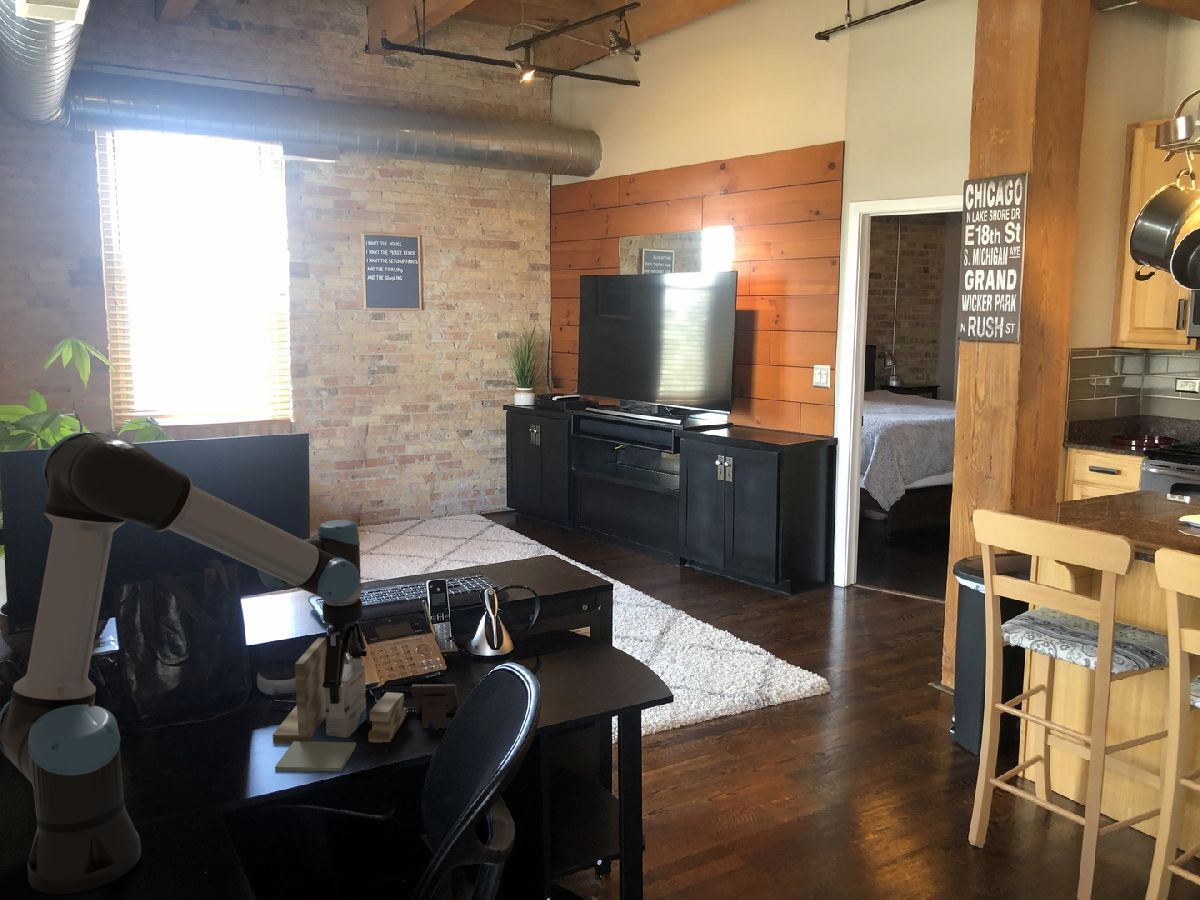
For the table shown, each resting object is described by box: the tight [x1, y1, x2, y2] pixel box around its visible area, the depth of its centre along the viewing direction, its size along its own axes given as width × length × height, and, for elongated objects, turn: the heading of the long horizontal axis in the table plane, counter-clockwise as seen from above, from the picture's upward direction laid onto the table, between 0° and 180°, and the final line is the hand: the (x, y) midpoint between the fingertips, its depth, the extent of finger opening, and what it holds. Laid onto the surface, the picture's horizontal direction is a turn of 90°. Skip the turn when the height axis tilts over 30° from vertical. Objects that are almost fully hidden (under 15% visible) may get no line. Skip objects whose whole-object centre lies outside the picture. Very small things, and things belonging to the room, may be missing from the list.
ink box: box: [325, 663, 367, 739], centre depth 194 cm, size 9×5×12 cm, turn 168°
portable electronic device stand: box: [410, 683, 460, 729], centre depth 198 cm, size 9×8×8 cm
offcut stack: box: [368, 691, 407, 743], centre depth 194 cm, size 12×4×6 cm, turn 175°
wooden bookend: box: [272, 637, 327, 744], centre depth 194 cm, size 14×7×16 cm, turn 178°
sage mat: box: [274, 741, 357, 773], centre depth 182 cm, size 10×12×1 cm
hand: (347, 702), depth 194 cm, fingers open, 13 cm apart
